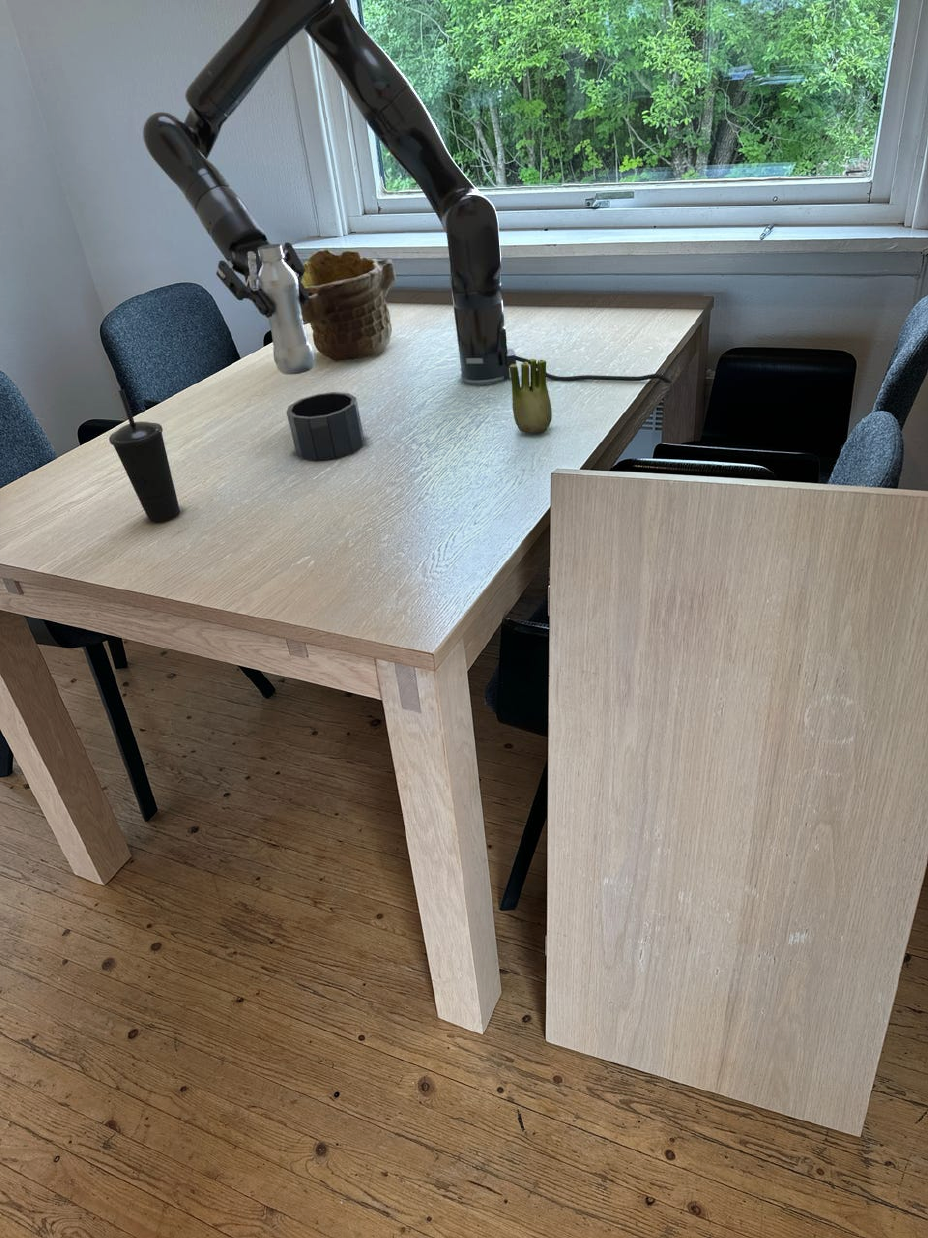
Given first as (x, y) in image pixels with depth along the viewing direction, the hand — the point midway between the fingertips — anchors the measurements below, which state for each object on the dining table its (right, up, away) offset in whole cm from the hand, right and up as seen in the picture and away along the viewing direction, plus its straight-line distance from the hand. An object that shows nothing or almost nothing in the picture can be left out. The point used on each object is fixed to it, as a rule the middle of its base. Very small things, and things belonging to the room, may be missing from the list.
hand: (288, 307), depth 139 cm
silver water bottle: (0, -8, +7) cm, 11 cm away
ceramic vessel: (+3, +9, +55) cm, 55 cm away
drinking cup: (-18, -34, -4) cm, 39 cm away
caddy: (+5, -20, +11) cm, 23 cm away
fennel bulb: (+40, -19, +6) cm, 44 cm away
